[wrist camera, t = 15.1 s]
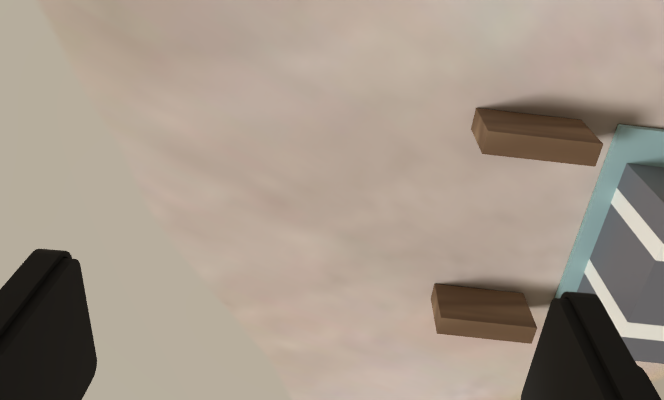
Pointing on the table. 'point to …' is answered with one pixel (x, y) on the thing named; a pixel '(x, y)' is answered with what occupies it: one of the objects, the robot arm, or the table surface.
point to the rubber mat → (610, 193)
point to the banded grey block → (633, 262)
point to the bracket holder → (521, 142)
